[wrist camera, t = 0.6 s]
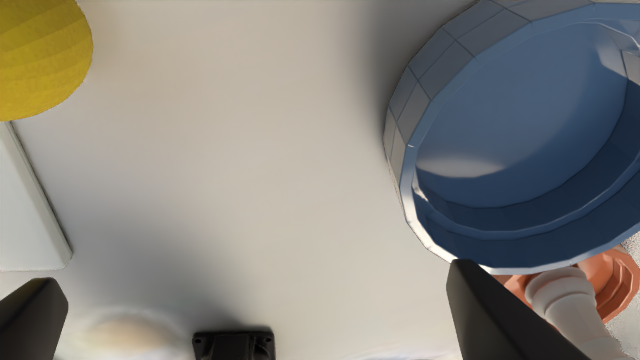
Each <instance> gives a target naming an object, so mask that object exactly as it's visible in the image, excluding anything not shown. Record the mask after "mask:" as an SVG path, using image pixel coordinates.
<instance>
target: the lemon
mask: <svg viewBox="0 0 640 360" xmlns="http://www.w3.org/2000/svg"><path fill="white" fill-rule="evenodd" d="M92 53H93V41H92V35H91V30H90V27H89V25H88V22H87V20H86V18H85V15H84V14H83V12H82V11H81V9H80V8H79V6H78V5H77V3H76V2H75V0H0V122H3V121H11V120H16V119H22V118H27V117H31V116H34V115H37V114H39V113H42V112H44V111H46V110H48V109H50V108H52V107H54V106H56V105H58V104H59V103H61V102H63V101H64V100H66V99H67V98H68V97H69V96H70V95H71V94H72V93H73V92H74V91H75V90H76V89H77V88H78V87H79V86H80V84H81V83H82V82H83V80H84V78H85V76H86V74H87V72H88V70H89V67H90V65H91V62H92Z"/></svg>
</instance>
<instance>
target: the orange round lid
mask: <svg viewBox="0 0 640 360" xmlns="http://www.w3.org/2000/svg"><path fill="white" fill-rule="evenodd" d="M570 266H573V267H576V268H579V269H580V270H582V271H583V272H585V273H586V276H587V280H588V281H590V282H591V283H592V285H593V288H594V291H595V297H594V298H595V300H596V304H597V305H596V310H597V312H598V314H599V316H600V318H601V320H602V322H603V323H604V324H606V323H607V322H608V321H610V320H611V319H612V318H614V317H615V316H616V315H618V314H619V313H620V312H622V311H623V310H624V309H625V308H626V307H627V306H628V304H629V303H630V302H631V300H632V299H633V297H634V296H635V294H636V293H637V292H638V290H639V285H640V268H639V267H638V265H637V264H636V263H635V261H634V260H633V258H632V257H631V256H630V254H629V253H628V252H627V251H626V250H625V249H624V248H623V247H622V246H621V245H620V244H618V245H617V246H615V247H612V249H609V250H607V251H605V252H602V253H600V254H597V255H595V256H593V257H590V258H588V259H585V260H583V261H581V262H578V263H576V264H573V265H570ZM534 274H536V273H534ZM534 274H529V275H491V276H493V277H494V278H495V279H496V280H497V281H499V282H500V283H501V284H502V285H503V286H505V287H506V288H507V289H508V290H509V291H511V292H512V293H513V294H514V295H515V296H516V297H518V298H519V299H520V300H521V301H522V302H524V303H525V304H526V305H527V306H528V307H530V308H531V309H532V310H533V308H532V306H531V304H530V303H529V302H527V300H526V298H525V296H524V295H525V290H526V286H527V282H528V281H529V280H530V279H531V277H532V276H533V275H534ZM543 319H544V318H543ZM544 320H545V321H546V322H547V320H546V319H544ZM548 323H549V322H548ZM549 324H550V323H549ZM550 325H551V326H552V327H553V328H555V329H556V330H557V331H558V332H559V330H558V329H557V328H556V327H555V326H554V325H552V324H550ZM559 333H560V332H559Z"/></svg>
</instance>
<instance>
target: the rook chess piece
mask: <svg viewBox="0 0 640 360" xmlns="http://www.w3.org/2000/svg"><path fill="white" fill-rule="evenodd" d="M524 296H525V298H526V300H527V302H529V303H530V304H531V306H532V308H533V311H534V312H536V313H537V314H538V315H539V316H540V317H542V318H544V319H546V320H547V322H549V323H550V324H552V325H554V326H555V327H556V328H557V329H558V330H559V332H560V333H561V334H562V335H563V336H564V337H565V338H567V339H568V340H569V341H570V342H571V343H573V344H574V345H575V346H576V347H577V348H579V349H580V350H581V351H582V352H583V353H585V354H586V355H587V356H588V357H589V358H590V359H592V360H635V359H634V358H631V357H629V356H627V355H625V354H624V353H623V352H622V351H621V350H620V347H621V345H620V341H619V340H617V339H615V338H613V337H612V336H611V334H610V333H609V332H608V330H607V329H606V327H605V325H604V323H603V322H602V320H601V318H600V316H599V314H598V312H597V310H596V305H597V304H596V300H595V298H594V297H595V291H594V288H593V285H592V283H591V282H590V281H588V280H587V276H586V273H585V272H583V271H582V270H580V269H579V268H576V267H573V266H567V267H562V268H557V269H553V270H548V271H543V272H539V273H536V274H534V275H533V276H532V277H531V279H530V280H529V281H528V282H527V286H526V290H525V295H524Z"/></svg>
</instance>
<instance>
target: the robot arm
mask: <svg viewBox="0 0 640 360" xmlns="http://www.w3.org/2000/svg"><path fill="white" fill-rule="evenodd" d="M446 291H447V296H448V300H449V304H450V309H451V313H452V317H453V321H454V325H455V329H456V334H457V338H458V342H459V346H460V350H461V354H462V357H463V360H592V359H590V358H589V357H588V356H587V355H586V354H585V353H583V352H582V351H581V350H580V349H579V348H577V347H576V346H575V345H574V344H573V343H571V342H570V341H569V340H568V339H567V338H565V337H564V336H563V335H562V334H561V333H559V332H558V331H557V330H556V329H555V328H553V327H552V326H551V325H550V324H549V323H548V322H546V321H545V320H544V319H543V318H542V317H540V316H539V315H538V314H537V313H536V312H534V311H533V310H532V309H531V308H530V307H528V306H527V305H526V304H525V303H524V302H522V301H521V300H520V299H519V298H518V297H516V296H515V295H514V294H513V293H512V292H511V291H509V290H508V289H507V288H506V287H505V286H503V285H502V284H501V283H500V282H499V281H497V280H496V279H495V278H494V277H493V276H491V275H490V274H489V273H488V272H487V271H485V270H484V269H483V268H482V267H481V266H479V265H478V264H477V263H476V262H475V261H473V260H472V259H469V258H463V259H453V260H452V262H451V265H450V269H449V274H448V278H447V283H446ZM67 313H68V301H67V299H66V297H65V295H64V293H63V291H62V289H61V288H60V286H59V284H58V282H57V281H56V280H55V279H54V278H51V277H46V278H34V279H31V280H30V281H28V282H27V283H25V284H24V285H22V286H21V287H19V288H18V289H17V290H15V291H14V292H12V293H11V294H9V295H8V296H6V297H5V298H4V299H2V300H1V301H0V360H52V359H53V356H54V353H55V350H56V347H57V344H58V341H59V338H60V335H61V331H62V328H63V325H64V322H65V319H66V316H67ZM192 344H193V348H194V352H195V356H196V360H276V355H275V337H274V334H273V333H272V332H218V333H195V334H194V335H193V338H192Z"/></svg>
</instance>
